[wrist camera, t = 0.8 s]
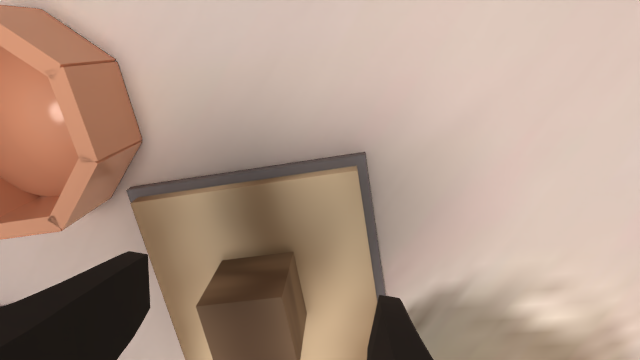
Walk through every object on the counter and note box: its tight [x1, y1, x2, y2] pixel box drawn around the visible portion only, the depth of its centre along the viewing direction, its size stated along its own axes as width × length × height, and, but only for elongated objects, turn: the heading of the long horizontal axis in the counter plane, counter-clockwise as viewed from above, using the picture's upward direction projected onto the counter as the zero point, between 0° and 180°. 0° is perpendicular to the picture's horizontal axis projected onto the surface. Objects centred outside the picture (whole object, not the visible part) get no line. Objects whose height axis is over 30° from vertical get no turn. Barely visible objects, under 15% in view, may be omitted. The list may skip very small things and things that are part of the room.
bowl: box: [0, 5, 142, 239], centre depth 19 cm, size 10×10×4 cm
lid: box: [130, 166, 377, 360], centre depth 21 cm, size 12×12×5 cm
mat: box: [126, 152, 385, 302], centre depth 23 cm, size 13×13×1 cm
